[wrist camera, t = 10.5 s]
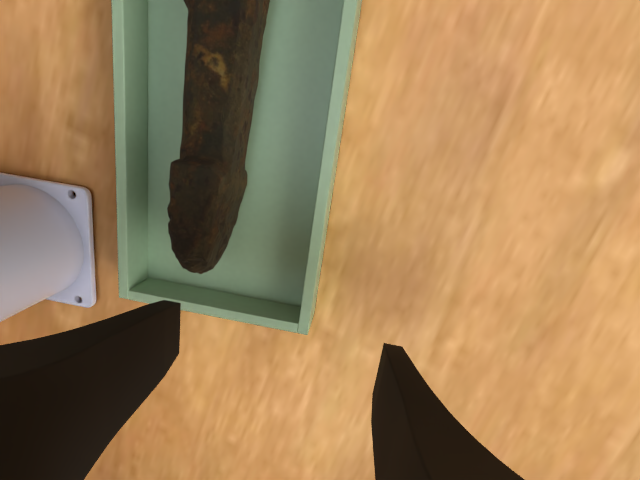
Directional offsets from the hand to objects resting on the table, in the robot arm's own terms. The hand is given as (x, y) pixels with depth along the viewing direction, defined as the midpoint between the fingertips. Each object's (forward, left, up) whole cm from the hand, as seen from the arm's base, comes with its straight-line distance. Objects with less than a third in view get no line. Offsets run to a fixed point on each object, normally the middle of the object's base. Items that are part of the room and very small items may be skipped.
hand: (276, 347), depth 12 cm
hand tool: (-5, +9, -9) cm, 13 cm away
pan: (-5, +8, -9) cm, 13 cm away
